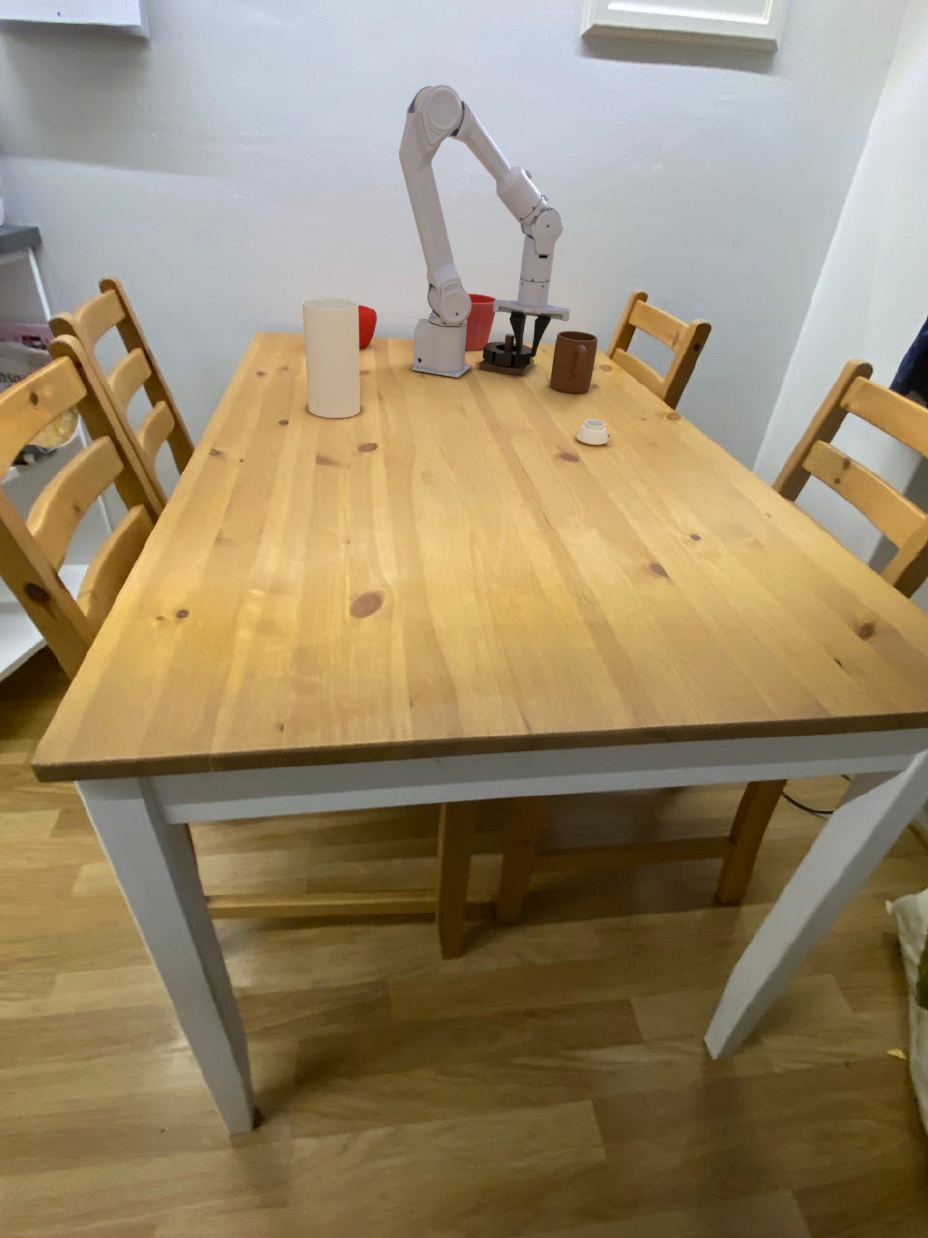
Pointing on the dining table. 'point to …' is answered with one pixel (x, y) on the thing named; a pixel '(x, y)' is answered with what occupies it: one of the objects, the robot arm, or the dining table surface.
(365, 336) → the apple
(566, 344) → the mug
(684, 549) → the dining table surface
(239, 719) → the dining table surface
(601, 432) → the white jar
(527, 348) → the ring
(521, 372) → the post
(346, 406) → the cup
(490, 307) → the flower pot
